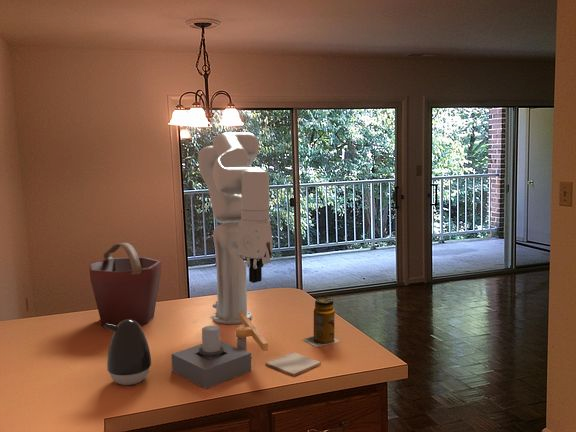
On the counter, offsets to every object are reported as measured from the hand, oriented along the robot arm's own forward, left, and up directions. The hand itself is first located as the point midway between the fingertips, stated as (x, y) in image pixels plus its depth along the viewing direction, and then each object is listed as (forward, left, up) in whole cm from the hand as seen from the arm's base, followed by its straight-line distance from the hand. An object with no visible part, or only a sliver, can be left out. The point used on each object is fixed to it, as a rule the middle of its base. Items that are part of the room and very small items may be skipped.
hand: (255, 281), depth 146 cm
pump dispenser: (-6, -35, -19) cm, 41 cm away
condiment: (+10, +17, -19) cm, 27 cm away
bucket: (-48, -12, -19) cm, 54 cm away
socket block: (+4, -15, -19) cm, 25 cm away
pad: (+16, -1, -19) cm, 25 cm away
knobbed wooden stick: (+3, -7, -13) cm, 15 cm away
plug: (+4, -18, -19) cm, 27 cm away
